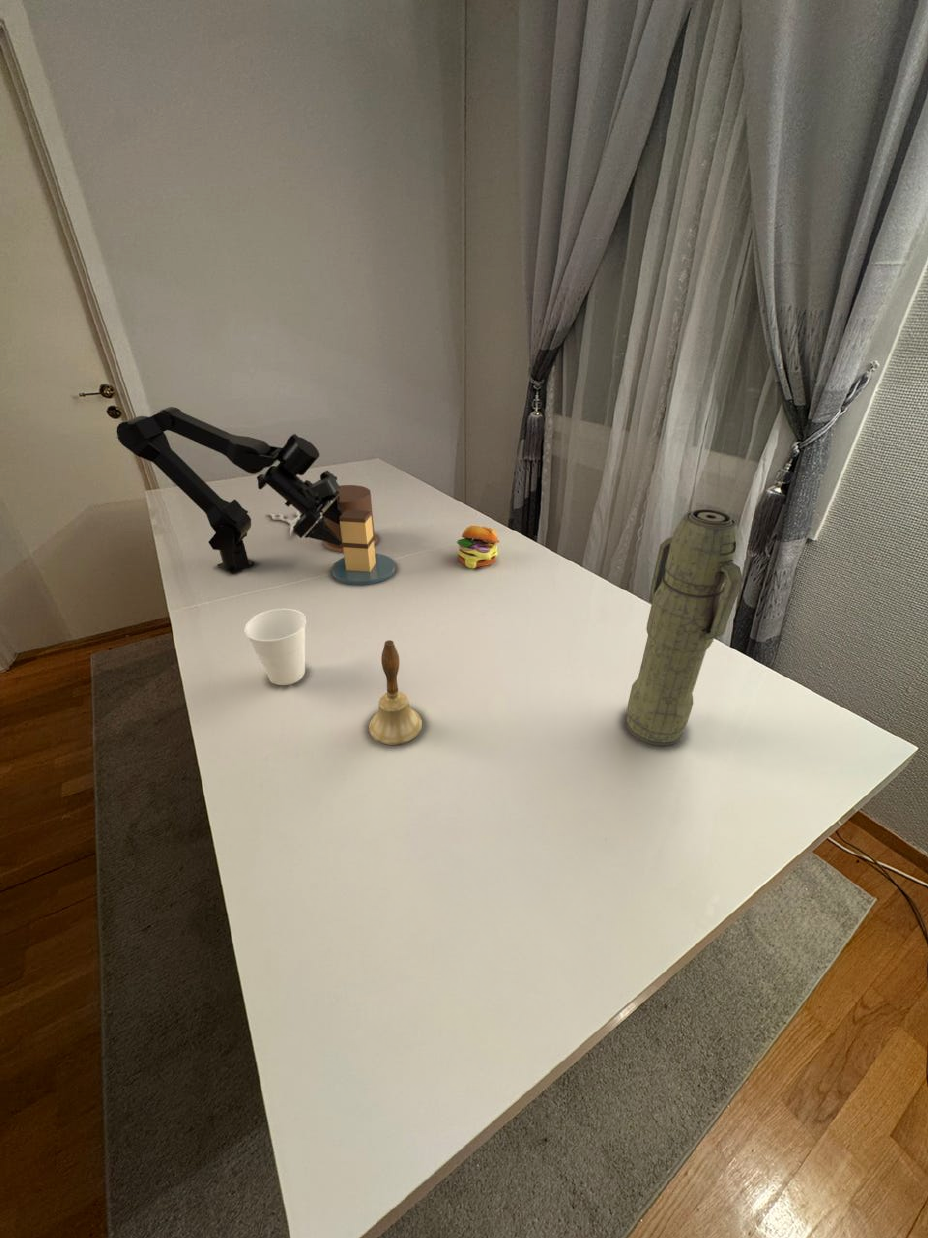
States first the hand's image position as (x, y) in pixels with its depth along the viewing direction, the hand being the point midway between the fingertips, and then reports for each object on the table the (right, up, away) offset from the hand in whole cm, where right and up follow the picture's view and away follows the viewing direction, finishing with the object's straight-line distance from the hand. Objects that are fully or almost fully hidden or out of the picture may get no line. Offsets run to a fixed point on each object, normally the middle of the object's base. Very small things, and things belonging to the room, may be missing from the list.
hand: (346, 535), depth 121 cm
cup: (-4, -30, -29) cm, 42 cm away
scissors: (-22, +8, +28) cm, 37 cm away
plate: (+3, -8, +5) cm, 9 cm away
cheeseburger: (+31, -5, +10) cm, 33 cm away
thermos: (+58, -37, -39) cm, 79 cm away
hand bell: (+17, -37, -40) cm, 57 cm away
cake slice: (+3, -7, +4) cm, 8 cm away
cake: (-3, +2, +19) cm, 19 cm away
